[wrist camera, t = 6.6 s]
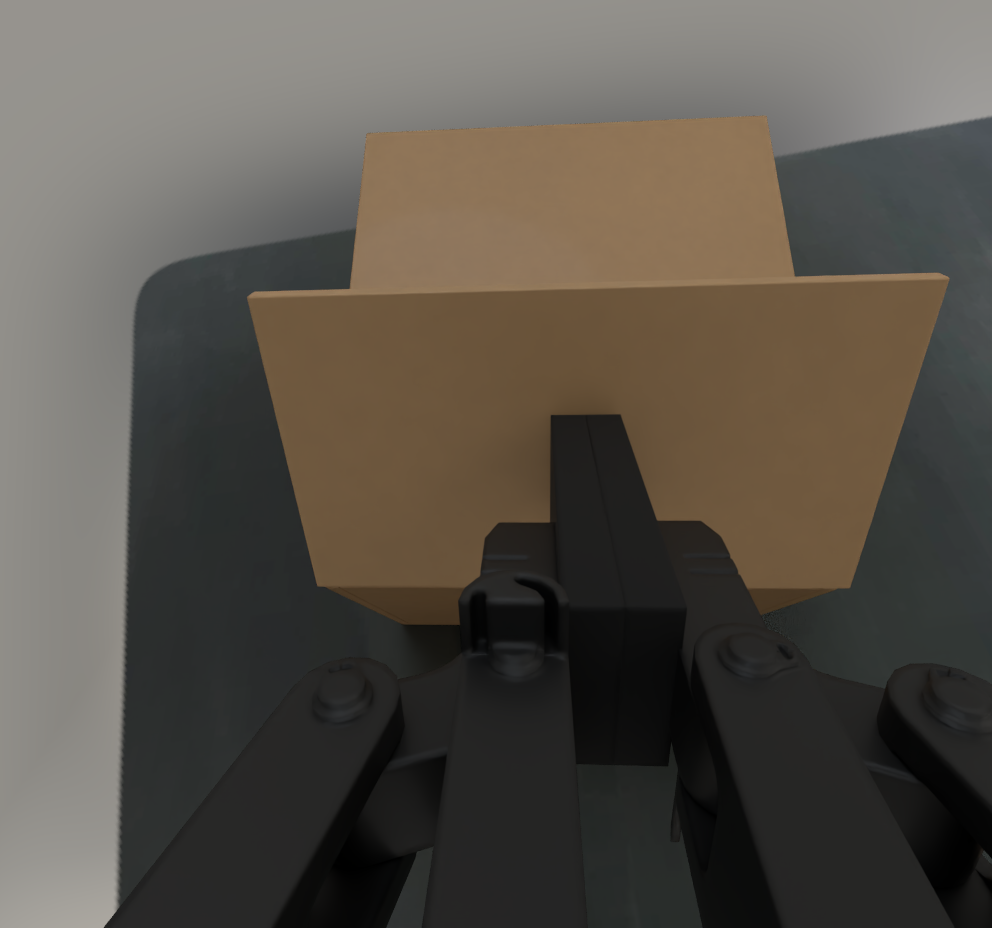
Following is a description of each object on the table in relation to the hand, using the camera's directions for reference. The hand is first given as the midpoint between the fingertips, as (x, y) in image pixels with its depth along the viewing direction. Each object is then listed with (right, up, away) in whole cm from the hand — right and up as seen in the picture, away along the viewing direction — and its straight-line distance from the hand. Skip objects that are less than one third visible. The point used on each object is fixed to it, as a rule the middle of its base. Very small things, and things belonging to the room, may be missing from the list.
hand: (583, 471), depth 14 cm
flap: (0, +1, +1) cm, 1 cm away
